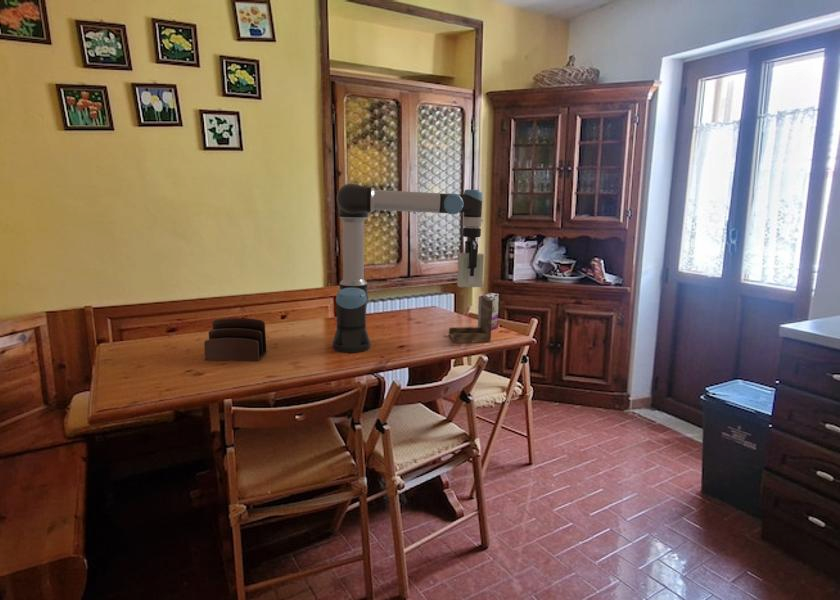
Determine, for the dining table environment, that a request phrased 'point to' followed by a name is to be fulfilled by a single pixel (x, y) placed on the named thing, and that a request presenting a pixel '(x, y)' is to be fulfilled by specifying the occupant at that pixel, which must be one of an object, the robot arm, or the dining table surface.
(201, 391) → the dining table surface
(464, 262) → the door panel
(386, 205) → the robot arm
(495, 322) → the candy bar box
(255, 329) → the letter holder
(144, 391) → the dining table surface
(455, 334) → the track
